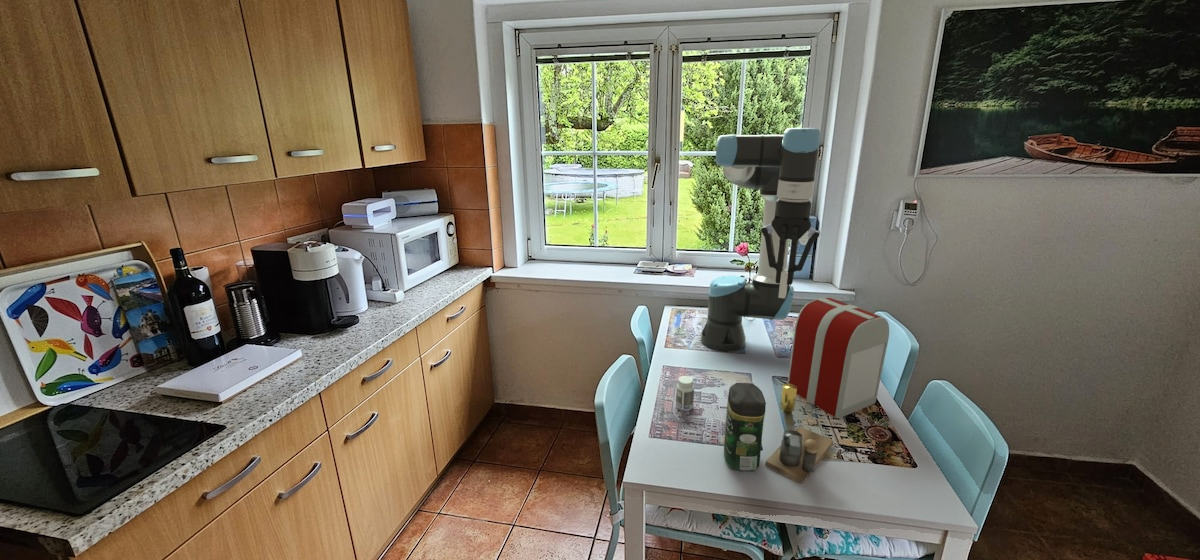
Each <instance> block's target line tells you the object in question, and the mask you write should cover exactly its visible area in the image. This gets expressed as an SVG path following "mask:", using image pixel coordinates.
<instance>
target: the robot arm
mask: <svg viewBox="0 0 1200 560" xmlns="http://www.w3.org/2000/svg"><path fill="white" fill-rule="evenodd" d="M820 147H821V130H820V129H819V128H818V127H817V128H816V127H788V128H786V129H785V130H784V133H783V134H733V133H730V134H725V135H722V134H721V135H719V136H718V138H717V139H716V150H715V164H716V165H717V166H718V167H722V172H723V175H724V177H725V178H726V180H728V182H730V183H731V184H733V185H734V186H738V187H740V188H744V189H750V190H760V194H759V196H760V197H761V198H762V199H763V200H764V204H763V206H764V207H763V214H762V217H763V218H762V227H761V229H760V232H761V238H760V247H759V248H760V249H759V258H758V268H757V273H756V274H755V275H754V276H753V277H752V282H747V280H746V278H744V276H739V275H725V276H719V277H717V278H715V279H713V280H712V281H711V282H710V284H709V291H708V306H707V307H708V308H707V320H706V322H705V324H704V326H703V329H702V331H701V335H700V341H701V343H702V344H703V345H705V346H706V347H708V348H710V349H712V350H715V351H716V350H717V351H720V352H721V351H722V352H735V351H739V350H740V349H743V348H744V347H745V345H746V338H747V337H746V334H745V330H744V326H743V318H751V319H761V320H762V319H765V320H770V321H773V320H774V321H783V320H786V318H788V315H789V314H790V312H791V311H790V310H791V309H792V304H793V299H794V292H795V289H794V286H792V284H793V282H794V276H795V272H801V271H802V270H803V268H804V265H805V263H806V261H807V258H808V256H809V254H810V251H811V249H812V246H813V244H814V242H816V240H817V239H818V238H819V237H820V234H821V232H820V230H816V229H815V228H814V227H812V223H811V221H810V220H811V219H810V218H811V211H812V201H811V199H812V198H813V194H814V188H815V176H816V169H817V165H818V164H817V163H818V157H819V156H818V155H819V150H820ZM807 232H808V234H807V237H808V240H807V241H806V244H805V247H804V249H803V251H802V255H801V256H800V259H799V261H798V263H797V264H796V262H797V261H796V260H797V254H798V253H797V252H798V245H799V240H800V239H801V238H802V237H803V236H804V235H805V234H806V233H807ZM790 241H791V242H790ZM789 244H790V245H789ZM789 247H790V250H789ZM789 251H790V253H789ZM788 254H789V261H788ZM787 262H788V268H787Z"/></svg>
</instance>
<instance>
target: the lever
mask: <svg viewBox="0 0 1200 560" xmlns="http://www.w3.org/2000/svg"><path fill="white" fill-rule="evenodd" d="M796 392H797V387H796V386H795V385H793V384H787V383H784V384H783V385H782V391H781V399H780V406H779V408H780V410H782V416H783V423H784V426H785V430H784V431H783V435H782V439H783V443H784V444H785V445H787V446H788V448H789V453H790V454H792V455H799V456H800V449H801V444H802V435H801V434H800V433H799V432H797V431H796V429H797V428H796V425H795V421H794V416H793V412H794V411H795V406H796V399H797V394H796Z"/></svg>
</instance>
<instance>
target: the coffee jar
mask: <svg viewBox="0 0 1200 560" xmlns="http://www.w3.org/2000/svg"><path fill="white" fill-rule="evenodd" d="M726 404H727V405H726V414H725V415H726V416H725V418H726V419H725V426H724V427H725V432H724V442H723V454H724V455H723V456H724V458H725V461H726V462H725V463H726V464H727V465H728V467H729V468H732V469H734V470H737V471H739V472H740V471H741V472H752V471H753V472H754V471H755V470H758V468H759V466H760V463H761V462H760V461H761V451H762V440H763V432H764V431H763V429H764V422H765V416H766V404H767V402H766V399H765V396H764V393H763V391H762V390H761V389H760V388H759V387H758V386H757V385H755V383H753V382H735V383H734V384H732V385H730V387H729V389H728V394H727V403H726Z"/></svg>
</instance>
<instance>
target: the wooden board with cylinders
mask: <svg viewBox="0 0 1200 560" xmlns="http://www.w3.org/2000/svg"><path fill="white" fill-rule="evenodd" d="M795 429H796V431H797V432H799V433H800V434H801V435H802V444H801V449H800V456H799V455H792V454H790V453H789V448H788V446H787V445H785V444H784V443H783V438H782V439H781V443H780V446H778V448H777V449H776V450H774V452H773V453H772V454H771V455H770V456H769V457H768V458H767V459H766V460H765V463H764V464H765V466H766V467H768V468H770V469H772V470H774V471H776V472H778V473H780V474H782V475H783V476H786V477H788V478H790V479H791V480H794V481H796V482H798V483H800V484H801V485H802V484H803V483H804V482H805V481H806V480H807V478H808V477H809V475H810V474H812V473H814V471H815V468H816V467H817V466H818V464H819V463H820V462H821V460H823V458H824V456H825V455H826V454H827V452H828V451H830V449H831V448H832V446H833V445H834V440H833V439H830V438H829V437H826V436H824V435H821V434H819V433H816V432H814V431H812V430H810V429H808V428H807V429H806V428H805V427H803V426H801V425H799V426H797V427H796V428H795Z"/></svg>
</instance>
